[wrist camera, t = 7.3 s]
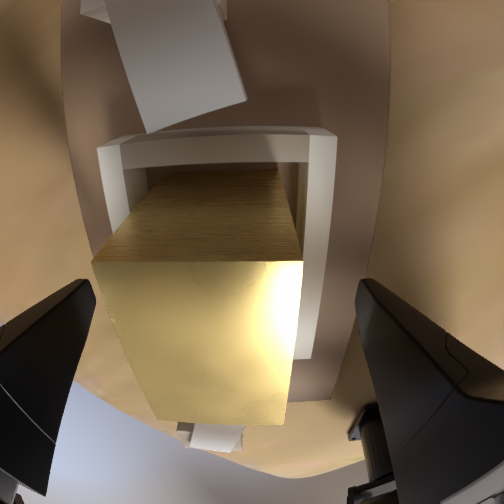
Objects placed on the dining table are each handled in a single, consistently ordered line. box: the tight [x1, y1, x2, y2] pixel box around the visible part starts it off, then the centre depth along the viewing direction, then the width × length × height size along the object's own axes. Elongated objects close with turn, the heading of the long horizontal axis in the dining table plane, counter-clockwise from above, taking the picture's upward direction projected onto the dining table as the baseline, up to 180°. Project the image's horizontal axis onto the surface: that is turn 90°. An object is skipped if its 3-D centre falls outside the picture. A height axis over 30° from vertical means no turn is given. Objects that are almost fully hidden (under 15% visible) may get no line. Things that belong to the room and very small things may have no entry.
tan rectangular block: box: [91, 169, 303, 425], centre depth 9 cm, size 6×4×6 cm, turn 1°
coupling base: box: [61, 0, 390, 453], centre depth 11 cm, size 23×12×6 cm, turn 1°
